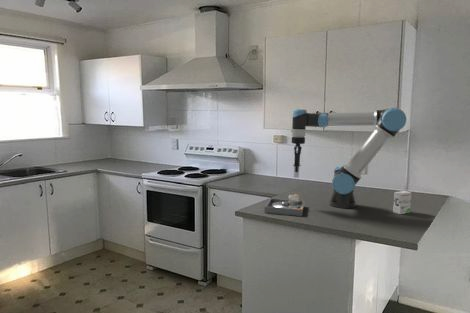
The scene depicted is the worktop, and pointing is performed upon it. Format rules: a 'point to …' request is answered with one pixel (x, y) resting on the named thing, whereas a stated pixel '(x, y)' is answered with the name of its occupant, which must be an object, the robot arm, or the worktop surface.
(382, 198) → the worktop surface
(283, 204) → the dial
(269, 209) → the grey square tray
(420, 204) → the worktop surface
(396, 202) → the ink box
